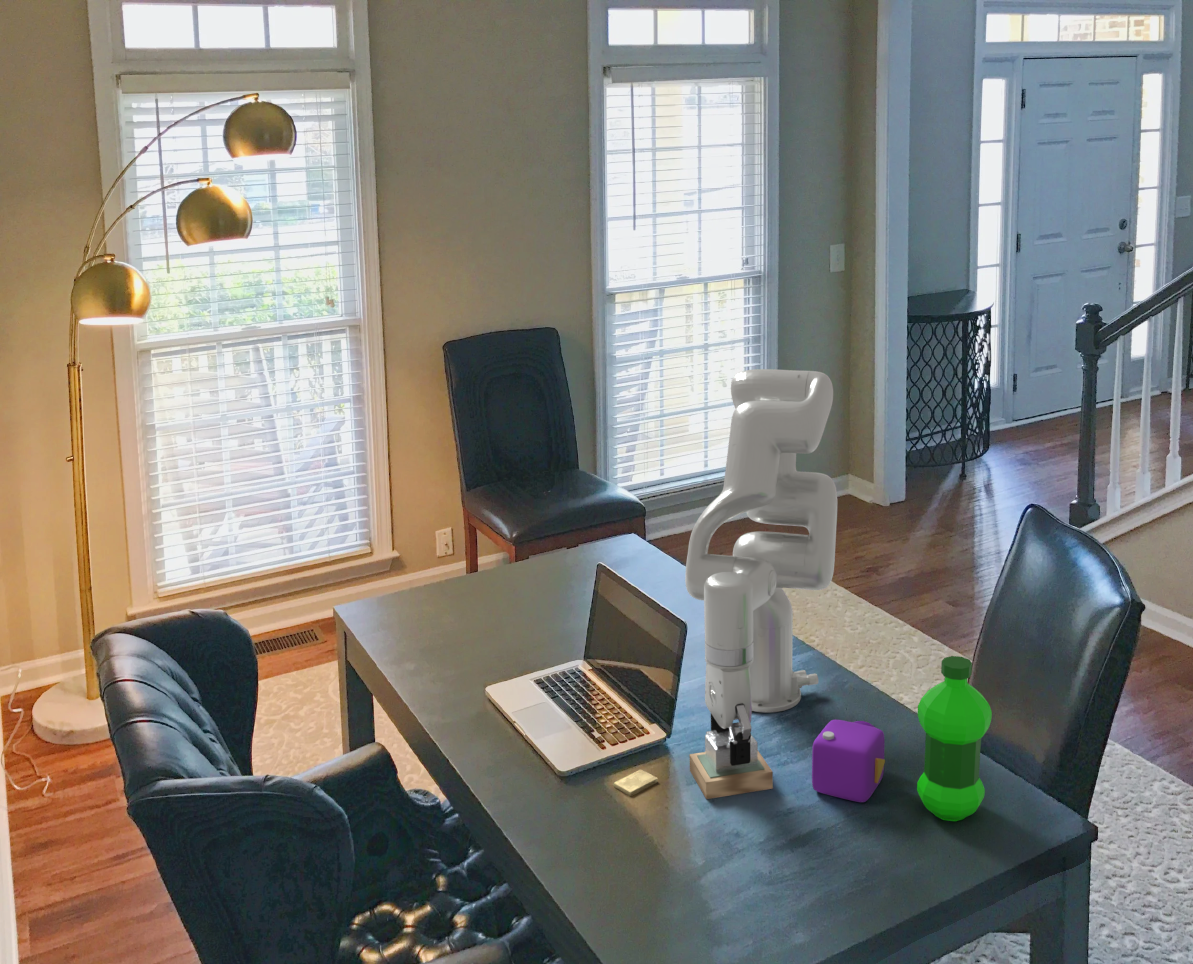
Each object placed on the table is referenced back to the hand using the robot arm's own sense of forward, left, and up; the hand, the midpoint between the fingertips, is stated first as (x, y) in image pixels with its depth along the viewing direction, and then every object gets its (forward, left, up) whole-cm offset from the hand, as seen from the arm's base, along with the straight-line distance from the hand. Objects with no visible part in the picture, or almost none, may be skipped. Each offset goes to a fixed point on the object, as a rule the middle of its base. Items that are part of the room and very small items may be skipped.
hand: (730, 748), depth 203 cm
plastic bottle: (-29, +18, -6) cm, 35 cm away
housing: (0, 0, -2) cm, 2 cm away
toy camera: (-18, +6, -6) cm, 20 cm away
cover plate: (+15, -3, -6) cm, 16 cm away
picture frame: (0, 0, -6) cm, 6 cm away
